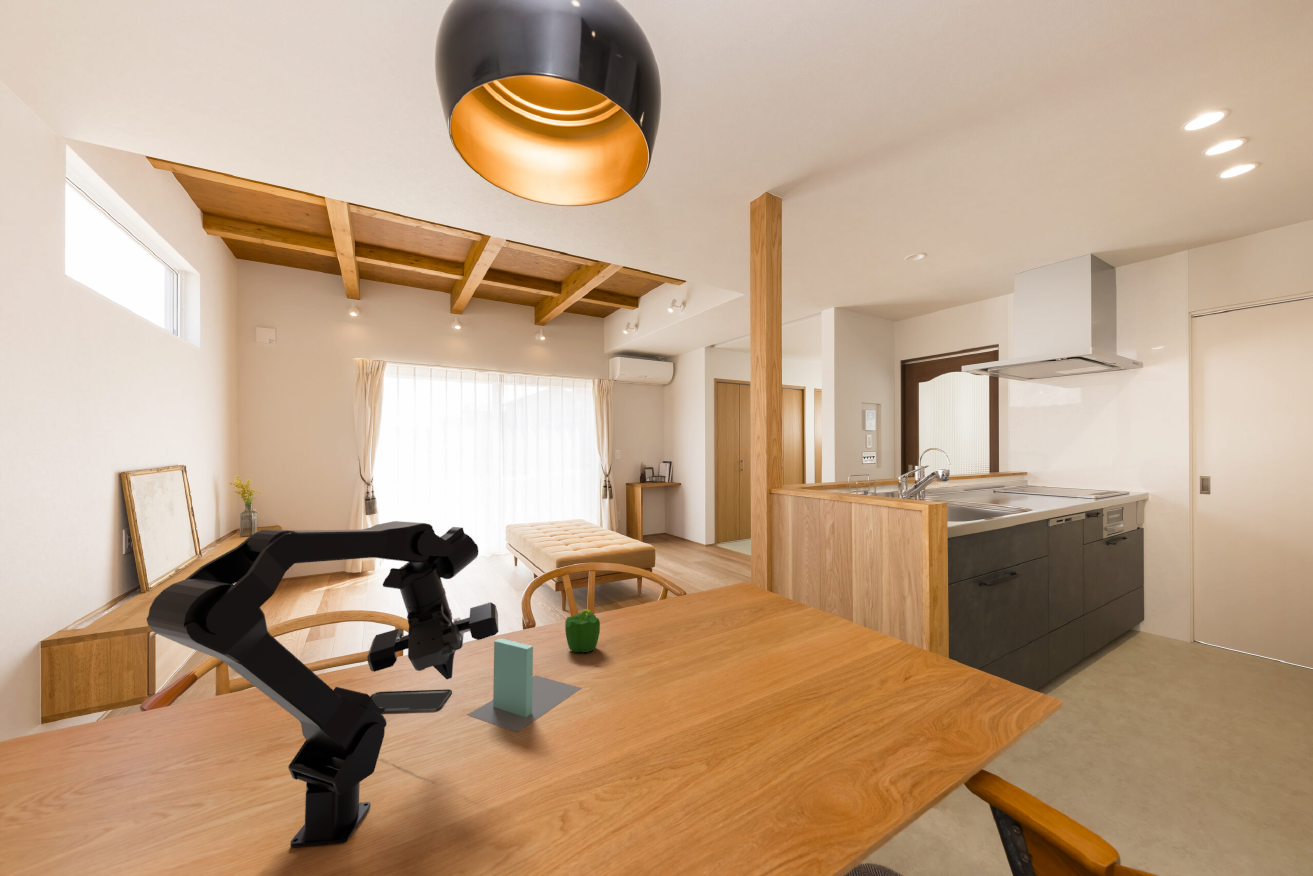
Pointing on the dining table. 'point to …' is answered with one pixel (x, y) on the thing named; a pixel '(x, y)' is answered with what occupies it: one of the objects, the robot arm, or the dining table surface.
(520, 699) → the teal board
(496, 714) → the mat
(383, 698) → the phone
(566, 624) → the bell pepper
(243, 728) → the dining table surface
